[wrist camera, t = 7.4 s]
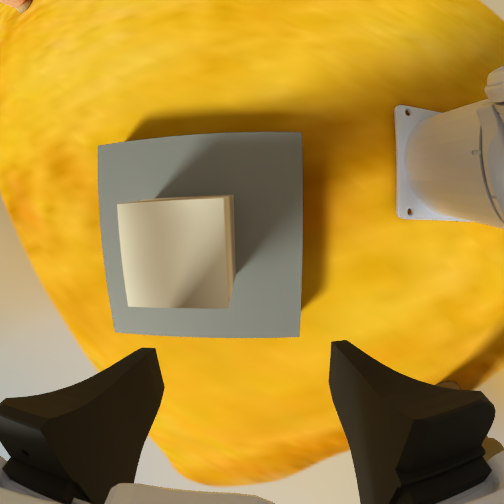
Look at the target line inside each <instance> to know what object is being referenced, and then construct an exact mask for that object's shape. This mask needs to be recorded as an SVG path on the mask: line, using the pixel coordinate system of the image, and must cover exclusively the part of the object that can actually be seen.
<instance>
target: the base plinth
mask: <svg viewBox="0 0 504 504" xmlns="http://www.w3.org/2000/svg"><path fill="white" fill-rule="evenodd" d="M98 192H99V211H100V226H101V238H102V248H103V257H104V266H105V273H106V281H107V288H108V294H109V300H110V306H111V312H112V318H113V323H114V328H115V332H117V333H130V334H143V335H159V336H179V337H210V338H277V337H299V336H300V315H301V289H302V251H303V157H302V132H232V133H210V134H194V135H181V136H170V137H160V138H151V139H142V140H134V141H127V142H119V143H113V144H106V145H100V146H98ZM210 195H234V227H235V258H236V277H235V282H234V286H233V290H232V294H231V299H230V303H229V307H228V309H198V308H150V307H128V303H127V296H126V289H125V282H124V274H123V266H122V257H121V248H120V237H119V225H118V211H117V204H122V203H128V202H134V201H141V200H147V199H154V198H169V197H188V196H210Z"/></svg>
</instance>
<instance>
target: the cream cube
mask: <svg viewBox="0 0 504 504" xmlns="http://www.w3.org/2000/svg"><path fill="white" fill-rule="evenodd" d="M117 211H118V225H119V237H120V248H121V257H122V266H123V274H124V282H125V289H126V296H127V303H128V307H150V308H198V309H228V307H229V303H230V299H231V294H232V290H233V286H234V282H235V277H236V258H235V227H234V195H210V196H188V197H169V198H154V199H147V200H141V201H134V202H128V203H122V204H117Z"/></svg>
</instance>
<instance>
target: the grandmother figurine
mask: <svg viewBox="0 0 504 504" xmlns="http://www.w3.org/2000/svg"><path fill="white" fill-rule="evenodd" d="M0 2H2V3H4V4H7V5H9V6H11V7H13V8H16V10H17V11H19V12H20V13H22V12H24V11H25V10H26V9H27V8H28V7H29V6H30V4H31V0H0Z"/></svg>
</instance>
